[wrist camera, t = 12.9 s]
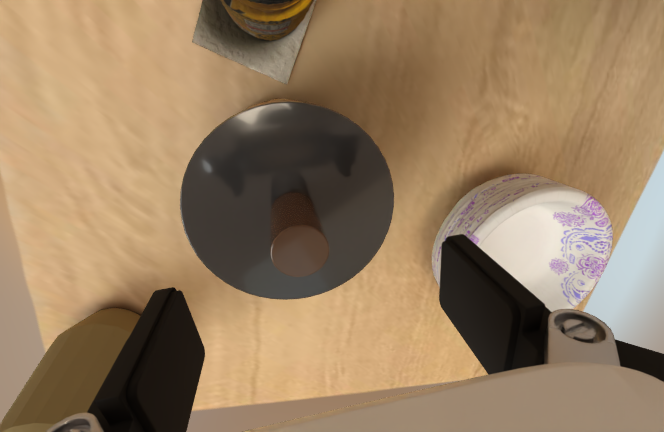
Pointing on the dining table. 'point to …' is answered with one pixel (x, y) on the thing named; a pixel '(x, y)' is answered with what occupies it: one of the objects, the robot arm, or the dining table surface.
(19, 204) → the dining table surface
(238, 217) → the lid
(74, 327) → the squeeze bottle
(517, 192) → the paper bowls
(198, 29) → the condiment
